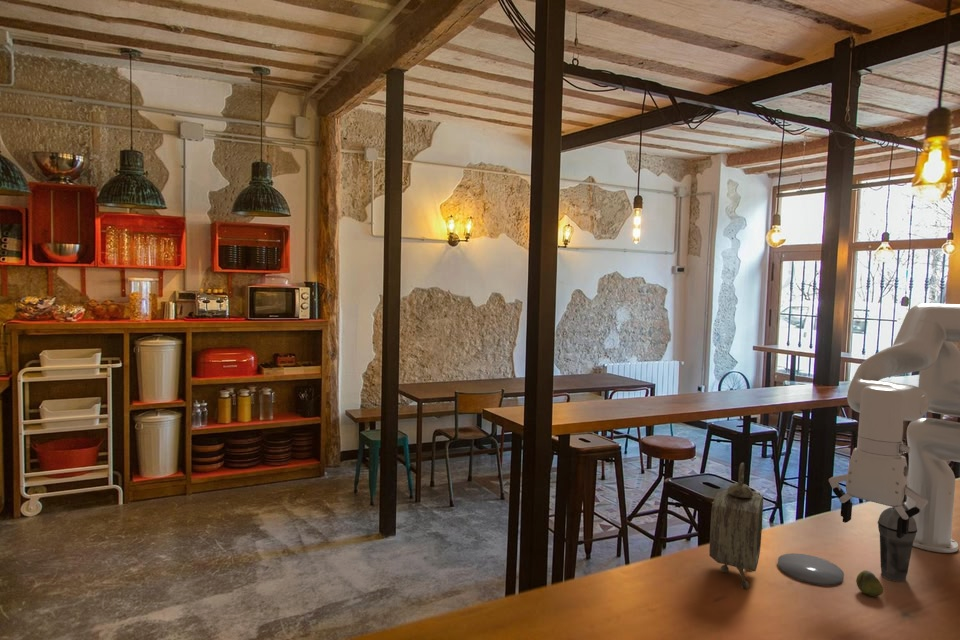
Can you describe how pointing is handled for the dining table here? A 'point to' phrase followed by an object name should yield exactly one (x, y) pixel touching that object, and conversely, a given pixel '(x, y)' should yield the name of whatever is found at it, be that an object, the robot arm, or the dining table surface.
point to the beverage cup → (895, 546)
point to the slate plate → (810, 569)
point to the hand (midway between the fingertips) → (872, 528)
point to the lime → (869, 583)
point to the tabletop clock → (736, 527)
